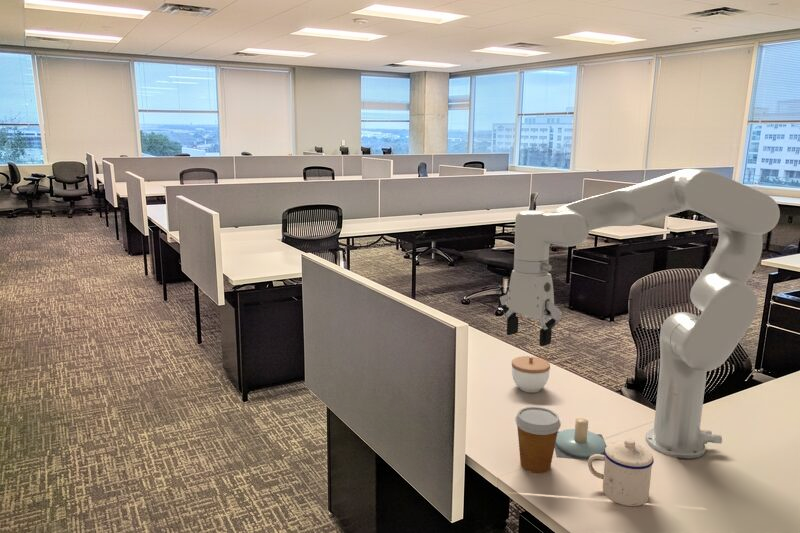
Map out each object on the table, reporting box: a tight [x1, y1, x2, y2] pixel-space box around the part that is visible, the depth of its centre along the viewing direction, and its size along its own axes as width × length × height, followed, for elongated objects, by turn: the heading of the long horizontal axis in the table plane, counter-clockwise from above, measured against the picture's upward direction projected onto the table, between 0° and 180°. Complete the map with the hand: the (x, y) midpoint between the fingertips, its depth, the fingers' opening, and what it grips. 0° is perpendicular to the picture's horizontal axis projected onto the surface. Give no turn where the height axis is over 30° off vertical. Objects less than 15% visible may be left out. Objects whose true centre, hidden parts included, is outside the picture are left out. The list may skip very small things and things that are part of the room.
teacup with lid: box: [587, 438, 655, 507], centre depth 115 cm, size 12×9×12 cm
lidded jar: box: [511, 355, 551, 393], centre depth 164 cm, size 11×11×9 cm
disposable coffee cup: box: [514, 406, 562, 474], centre depth 124 cm, size 10×10×12 cm
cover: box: [556, 417, 607, 458], centre depth 132 cm, size 11×11×6 cm
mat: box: [554, 431, 607, 462], centre depth 133 cm, size 12×12×1 cm
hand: (528, 339), depth 132 cm, fingers open, 9 cm apart
